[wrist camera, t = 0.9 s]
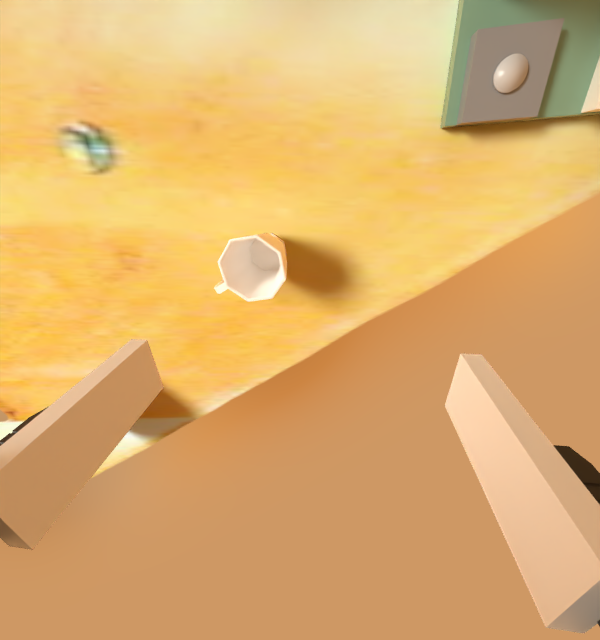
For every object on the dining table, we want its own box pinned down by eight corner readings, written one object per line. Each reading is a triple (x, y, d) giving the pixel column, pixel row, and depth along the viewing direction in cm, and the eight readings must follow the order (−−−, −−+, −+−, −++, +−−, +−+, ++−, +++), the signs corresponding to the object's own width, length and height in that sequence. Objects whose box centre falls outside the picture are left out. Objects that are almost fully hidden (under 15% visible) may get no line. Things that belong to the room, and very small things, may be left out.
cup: (308, 260, 34) (300, 282, 27) (246, 297, 38) (225, 325, 31) (276, 209, 32) (258, 219, 25) (214, 253, 35) (182, 273, 28)
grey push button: (465, 42, 24) (479, 27, 21) (590, 26, 22) (622, 8, 20) (451, 127, 26) (463, 122, 24) (562, 117, 25) (586, 111, 23)
